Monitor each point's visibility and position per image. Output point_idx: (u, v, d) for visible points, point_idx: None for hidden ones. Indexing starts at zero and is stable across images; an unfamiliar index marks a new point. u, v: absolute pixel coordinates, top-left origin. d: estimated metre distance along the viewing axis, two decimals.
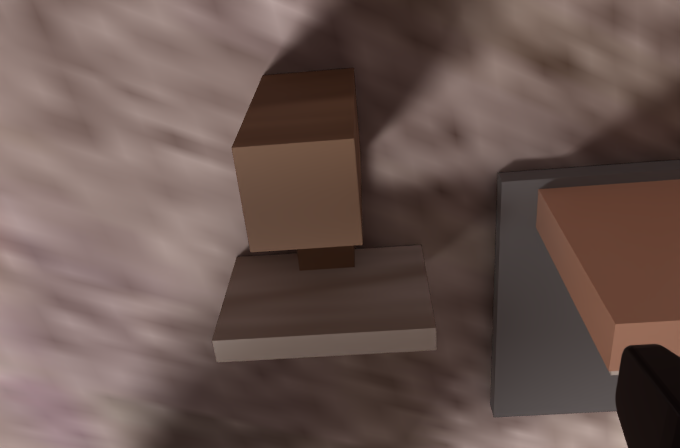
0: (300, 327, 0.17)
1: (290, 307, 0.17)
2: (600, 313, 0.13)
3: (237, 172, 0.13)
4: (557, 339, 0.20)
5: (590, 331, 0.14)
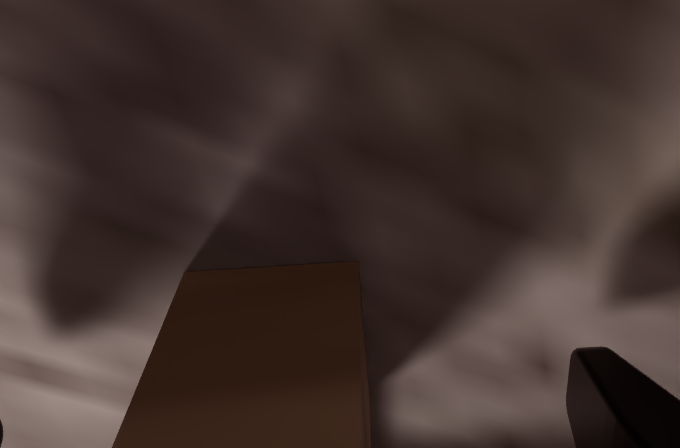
0: None
1: None
2: None
3: None
4: None
5: None
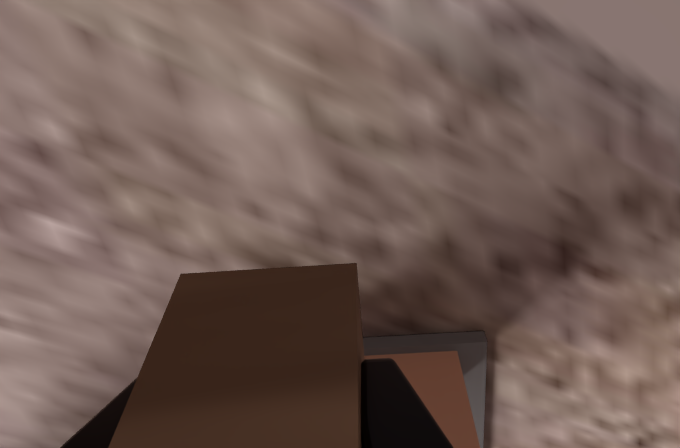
0: None
1: None
2: None
3: None
4: None
5: None
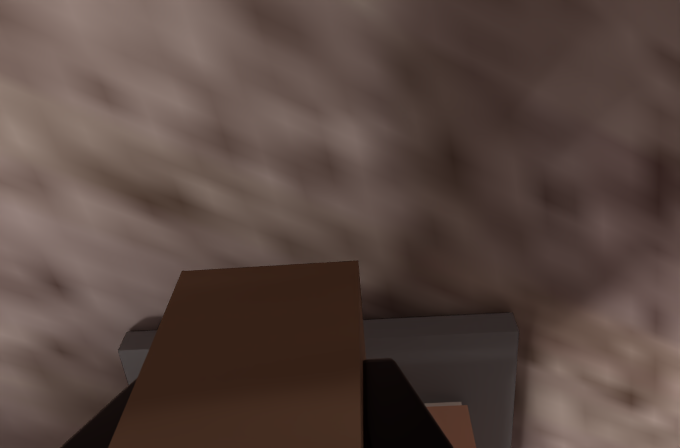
0: None
1: None
2: None
3: None
4: None
5: None
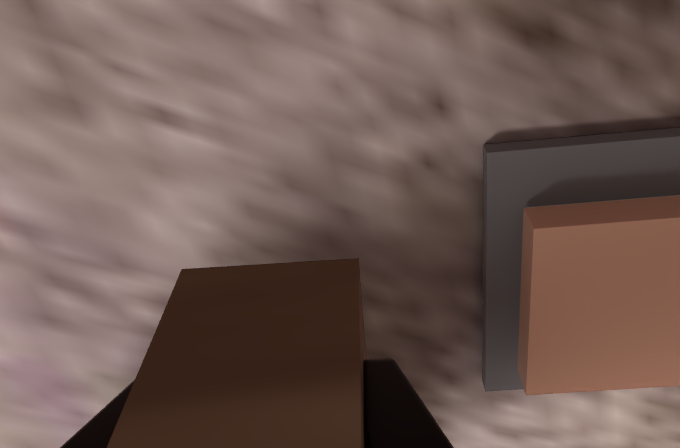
0: None
1: None
2: (524, 369, 0.20)
3: None
4: None
5: (519, 342, 0.21)
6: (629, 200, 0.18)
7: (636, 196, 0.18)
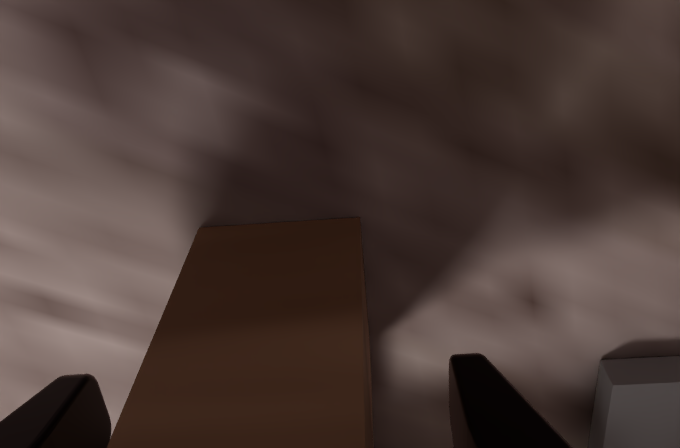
0: None
1: None
2: None
3: None
4: None
5: None
6: None
7: None
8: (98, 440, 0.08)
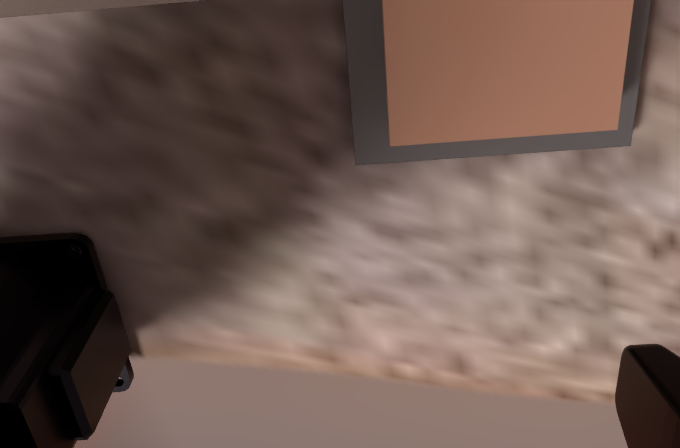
0: None
1: None
2: (388, 115, 0.17)
3: None
4: None
5: None
6: None
7: None
8: None
